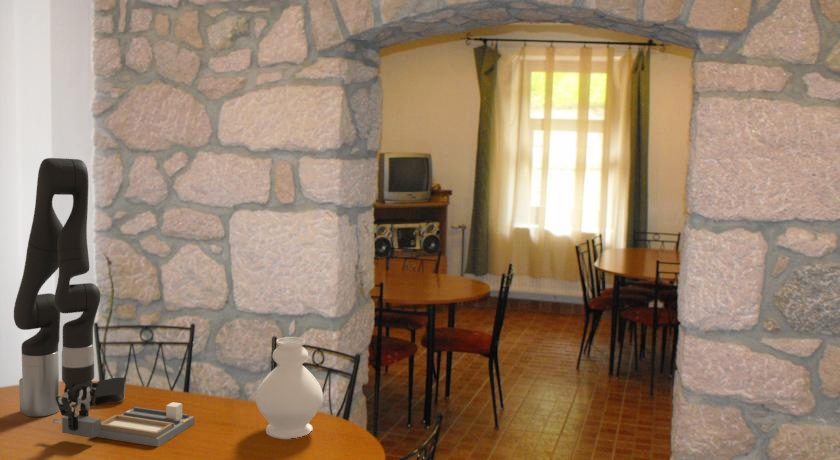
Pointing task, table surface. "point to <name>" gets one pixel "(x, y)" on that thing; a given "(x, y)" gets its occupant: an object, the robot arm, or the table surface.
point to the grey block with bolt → (82, 426)
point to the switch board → (144, 426)
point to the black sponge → (111, 391)
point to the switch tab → (174, 411)
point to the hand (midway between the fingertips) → (78, 427)
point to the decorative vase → (289, 392)
